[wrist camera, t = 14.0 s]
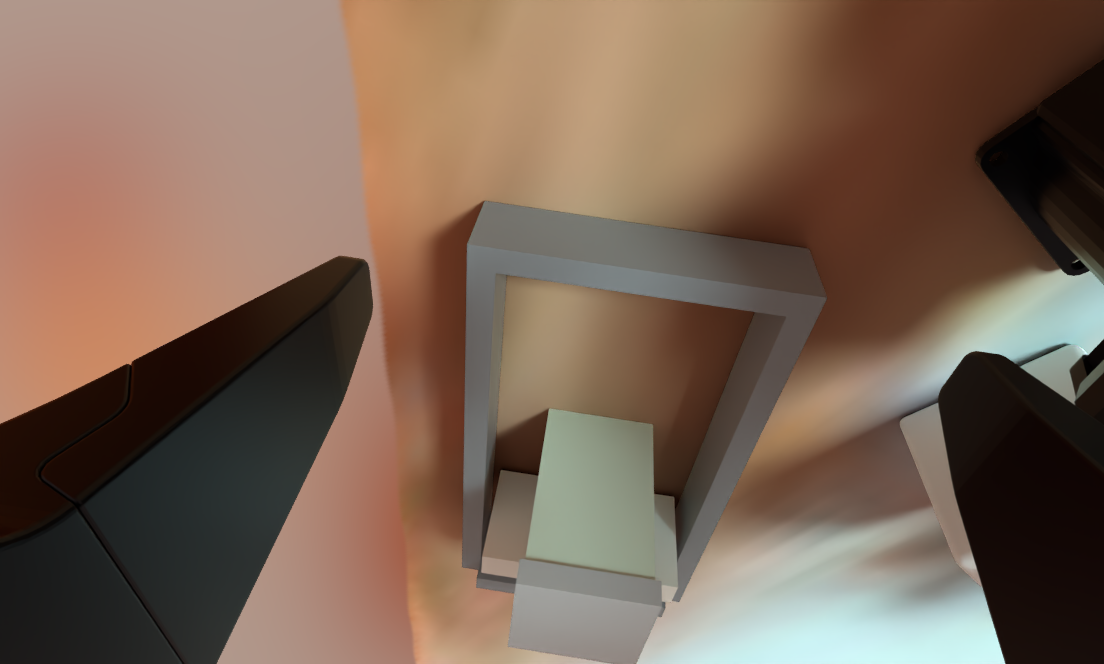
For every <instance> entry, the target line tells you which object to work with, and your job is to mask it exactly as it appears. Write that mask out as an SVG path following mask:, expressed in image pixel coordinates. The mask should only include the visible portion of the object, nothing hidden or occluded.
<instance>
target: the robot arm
mask: <svg viewBox="0 0 1104 664" xmlns="http://www.w3.org/2000/svg"><path fill="white" fill-rule="evenodd" d="M999 151H1002V154H1001V156H1000V157H999V158H998V159H996V160H994V161H989V160H990V157H991V156H992V155H993V154H994V153H997V152H999ZM975 161H976V163H977V165H978V166H979V167H980V169H981V170H982V171H983V172H984V174H985V175H986V176H987V177H988V179H989V180H990V181H991V182H992V184H993V185H994V186H995V187H996V189H997V190H998V191H999V192H1000V194H1001V195H1002V196H1003V197H1004V199H1005V200H1006V201H1007V202H1008V204H1009V205H1010V206H1011V207H1012V209H1013V210H1014V211H1015V212H1016V214H1017V215H1018V216H1019V217H1020V219H1021V220H1022V221H1023V222H1024V224H1025V225H1026V226H1027V227H1028V229H1029V230H1030V231H1031V232H1032V234H1033V235H1034V236H1035V237H1036V239H1037V240H1038V241H1039V242H1040V244H1041V245H1042V246H1043V247H1044V249H1045V250H1046V251H1047V252H1048V254H1049V255H1050V256H1051V257H1052V259H1053V260H1054V261H1055V262H1056V264H1057V265H1058V266H1059V267H1060V268H1061V269H1062V271H1063V272H1064V273H1066V274H1067V275H1072V276H1075V275H1081V274H1083V273H1086V272H1088V271H1091V272H1092V273H1093V274H1094V275H1095V276H1096V277H1097V278H1098V279H1099V280H1100V281H1101V282H1102V284H1103V285H1104V60H1102V61H1101V62H1099V63H1098V64H1097V65H1095V66H1094V67H1092V68H1091V69H1089V70H1088V71H1086V72H1085V73H1083V74H1082V75H1081V76H1079V77H1078V78H1076V79H1075V80H1073V81H1072V82H1070V83H1069V84H1067V85H1066V86H1064V87H1063V88H1062V89H1060V90H1059V91H1057V92H1056V93H1054V94H1053V95H1051V96H1050V97H1048V98H1047V99H1046V100H1044V101H1043V102H1042V103H1041V105H1040V106H1038V107H1037V108H1035V109H1034V110H1033V111H1031V112H1030V113H1028V114H1027V115H1025V116H1024V117H1022V118H1021V119H1019V120H1018V121H1016V122H1015V123H1014V124H1012V125H1011V126H1009V127H1008V128H1006V129H1005V130H1003V131H1002V132H1000V133H999V134H997V135H996V136H995V137H993V138H992V139H990V140H989V141H987V142H986V143H984V144H983V145H982V146H981V147H980V148H979V150H978V151H977V153H976V157H975ZM1078 258H1079V259H1080V260H1079V261H1077V262H1075V263H1072V262H1073V261H1075V260H1076V259H1078ZM372 309H373V299H372V290H371V281H370V272H369V266H368V263H367V262H366V261H365V260H364V259H359V258H353V257H347V256H338V257H335V258H333V259H331V260H329V261H327V262H325V263H323V264H322V265H320V266H318V267H316V268H314V269H312V270H310V271H308V272H306V273H304V274H302V275H300V276H298V277H296V278H294V279H292V280H290V281H288V282H287V283H285V284H282V285H281V286H279V287H277V288H275V289H273V290H271V291H269V292H267V293H265V294H263V295H261V296H259V297H257V298H255V299H253V300H251V301H249V302H247V303H245V304H243V305H241V306H239V307H237V308H235V309H234V310H232V311H230V312H228V313H226V314H224V315H222V316H220V317H218V318H216V319H214V320H212V321H210V322H208V323H206V324H204V325H202V326H200V327H199V328H196V329H195V330H192V331H190V332H189V333H187V334H185V335H183V336H181V337H179V338H177V339H175V340H173V341H171V342H169V343H167V344H165V345H163V346H161V347H159V348H157V349H155V350H153V351H151V352H149V353H147V354H146V355H143V356H142V357H139V358H138V359H136V360H134V361H133V362H132V364H131V365H129V364H126V365H124V366H122V367H120V368H118V369H116V370H114V371H112V372H110V373H108V374H106V375H104V376H102V377H100V378H98V379H96V380H94V381H92V382H90V383H88V384H86V385H84V386H82V387H80V388H78V389H76V390H74V391H72V392H69V393H67V394H65V395H63V396H61V397H59V398H57V399H55V400H53V401H51V402H48V403H46V404H44V405H42V406H39V407H37V408H35V409H33V410H30V411H28V412H26V413H24V414H22V415H19V416H17V417H15V418H13V419H10V420H8V421H6V422H3V423H1V424H0V664H217V662H218V659H219V657H220V655H221V653H222V651H223V649H224V647H225V645H226V643H227V641H228V639H229V637H230V635H231V633H232V630H233V628H234V626H235V624H236V622H237V620H238V618H239V616H240V614H241V612H242V610H243V608H244V606H245V604H246V601H247V599H248V597H249V595H250V593H251V591H252V589H253V587H254V585H255V583H256V581H257V579H258V577H259V574H260V572H261V570H262V568H263V566H264V564H265V562H266V560H267V558H268V556H269V554H270V552H271V549H272V547H273V546H274V543H275V541H276V539H277V537H278V535H279V533H280V531H281V529H282V527H283V525H284V523H285V521H286V519H287V516H288V514H289V512H290V510H291V508H292V506H293V504H294V502H295V500H296V498H297V496H298V494H299V492H300V489H301V487H302V485H303V483H304V481H305V479H306V477H307V474H308V473H309V471H310V469H311V467H312V465H313V463H314V460H315V458H316V456H317V454H318V452H319V450H320V448H321V446H322V444H323V442H324V439H325V438H326V436H327V433H328V431H329V429H330V427H331V425H332V423H333V421H334V419H335V417H336V415H337V413H338V411H339V408H340V406H341V404H342V401H343V399H344V397H345V394H346V391H347V387H348V385H349V382H350V379H351V377H352V373H353V371H354V368H355V365H356V362H357V358H358V356H359V353H360V350H361V347H362V344H363V341H364V338H365V335H366V331H367V329H368V326H369V323H370V320H371V316H372ZM1069 371H1070V375H1071V379H1072V383H1073V388H1074V392H1075V396H1076V398H1075V401H1074V403H1075V405H1074V404H1073V403H1071V402H1070V401H1069V400H1067V399H1066V398H1064V397H1063V396H1061V395H1060V394H1058V393H1057V392H1055V391H1054V390H1053V389H1051V388H1050V387H1048V386H1047V385H1045V384H1044V383H1042V382H1041V381H1040V380H1038V379H1037V378H1035V377H1034V376H1032V375H1031V374H1029V373H1028V372H1026V371H1025V370H1024V369H1022V368H1021V367H1019V366H1018V365H1016V364H1015V363H1013V362H1012V361H1011V360H1009V359H1008V358H1006V357H1004V356H1002V355H999V354H992V353H986V352H979V351H975V352H971V353H969V354H967V355H966V356H965V357H964V358H963V359H962V361H961V362H960V364H959V365H958V366H957V368H956V369H955V370H954V372H953V373H952V375H951V376H950V377H949V379H948V380H947V381H946V383H945V384H944V386H943V387H942V389H941V391H940V393H939V397H938V407H939V413H940V419H941V424H942V430H943V435H944V441H945V447H946V452H947V458H948V463H949V469H950V475H951V480H952V485H953V489H954V494H955V498H956V501H957V505H958V509H959V512H960V515H961V519H962V522H963V525H964V529H965V532H966V535H967V539H968V542H969V545H970V549H971V552H972V555H973V558H974V562H975V565H976V568H977V572H978V575H979V578H980V582H981V585H982V588H983V591H984V595H985V598H986V601H987V605H988V608H989V611H990V615H991V618H992V621H993V624H994V628H995V631H996V634H997V638H998V641H999V644H1000V648H1001V651H1002V654H1003V657H1004V661H1005V664H1104V339H1103V341H1102V342H1101V343H1100V344H1099V345H1098V346H1097V347H1096V348H1095V349H1094V350H1093V351H1092V352H1091V353H1090V354H1089V355H1082V356H1081V357H1080V358H1079V359H1078V360H1077V362H1076V363H1075V364H1074V365H1073V366H1072V367H1071V368H1070V370H1069Z"/></svg>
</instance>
